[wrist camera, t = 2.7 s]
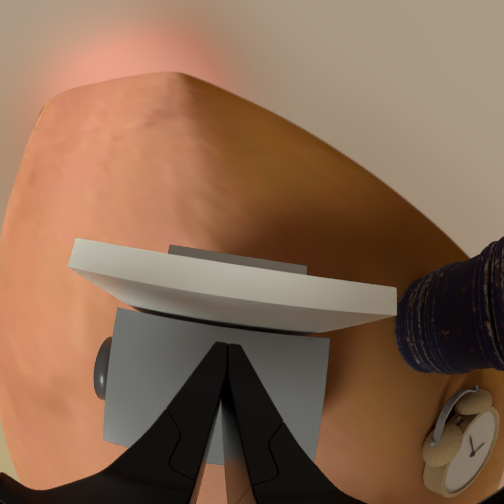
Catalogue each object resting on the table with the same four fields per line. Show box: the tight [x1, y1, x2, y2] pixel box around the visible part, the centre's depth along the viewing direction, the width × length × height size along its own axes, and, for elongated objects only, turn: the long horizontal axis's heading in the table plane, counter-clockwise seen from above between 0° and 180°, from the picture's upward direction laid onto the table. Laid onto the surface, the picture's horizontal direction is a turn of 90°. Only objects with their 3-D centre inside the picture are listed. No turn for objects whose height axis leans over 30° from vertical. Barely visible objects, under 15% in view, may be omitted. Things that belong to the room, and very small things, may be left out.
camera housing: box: [94, 308, 330, 465], centre depth 16 cm, size 8×13×6 cm, turn 83°
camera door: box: [68, 238, 397, 336], centre depth 14 cm, size 2×11×12 cm, turn 83°
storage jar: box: [395, 237, 504, 374], centre depth 15 cm, size 10×10×15 cm
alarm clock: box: [422, 385, 499, 498], centre depth 17 cm, size 11×5×15 cm
